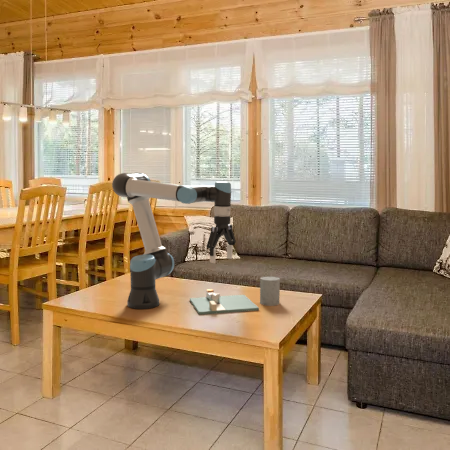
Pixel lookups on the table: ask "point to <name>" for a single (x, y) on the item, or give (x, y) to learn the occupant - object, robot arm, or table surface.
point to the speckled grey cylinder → (269, 290)
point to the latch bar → (213, 296)
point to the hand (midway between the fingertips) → (221, 260)
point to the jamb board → (223, 304)
